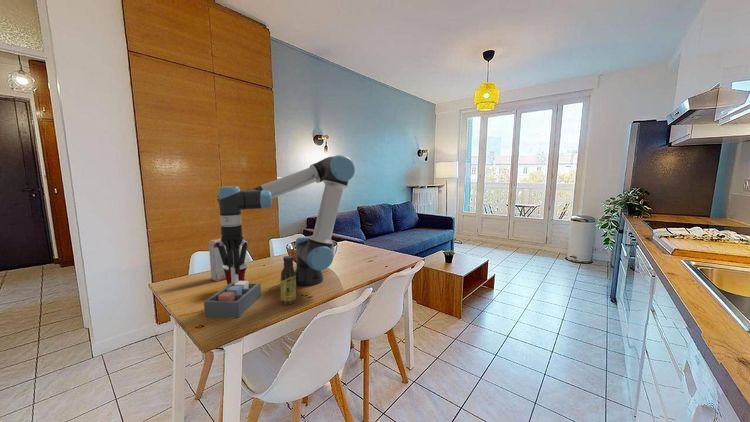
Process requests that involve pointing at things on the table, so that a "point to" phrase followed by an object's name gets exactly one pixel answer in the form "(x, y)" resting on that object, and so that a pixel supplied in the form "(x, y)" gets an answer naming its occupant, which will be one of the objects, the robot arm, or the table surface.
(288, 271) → the sauce bottle
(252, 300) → the grey compartment tray
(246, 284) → the white block
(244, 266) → the plastic cup
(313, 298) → the table surface
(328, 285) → the table surface
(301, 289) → the table surface
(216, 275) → the cracker box
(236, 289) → the light blue block
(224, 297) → the salmon red block
